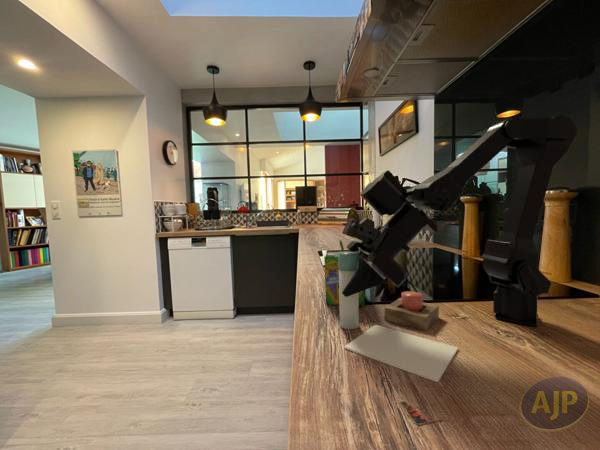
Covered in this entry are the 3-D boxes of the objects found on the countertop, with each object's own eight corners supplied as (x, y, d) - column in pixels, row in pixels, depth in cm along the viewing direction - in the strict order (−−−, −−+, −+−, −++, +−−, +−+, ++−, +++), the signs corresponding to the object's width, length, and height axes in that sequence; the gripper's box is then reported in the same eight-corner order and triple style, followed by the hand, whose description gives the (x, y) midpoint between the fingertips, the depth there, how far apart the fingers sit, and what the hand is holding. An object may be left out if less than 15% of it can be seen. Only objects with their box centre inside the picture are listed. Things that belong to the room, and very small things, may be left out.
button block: (438, 317, 57) (438, 305, 57) (426, 330, 51) (426, 317, 51) (400, 308, 62) (400, 297, 62) (384, 319, 56) (384, 307, 56)
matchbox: (455, 417, 30) (455, 413, 30) (420, 435, 28) (420, 430, 28) (420, 392, 35) (420, 389, 35) (388, 405, 32) (388, 402, 32)
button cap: (425, 310, 57) (425, 293, 57) (418, 316, 54) (418, 298, 54) (405, 306, 60) (405, 290, 59) (398, 311, 57) (398, 294, 56)
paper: (458, 349, 44) (458, 347, 44) (437, 382, 36) (437, 380, 36) (375, 326, 53) (375, 324, 53) (344, 348, 45) (344, 346, 45)
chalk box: (364, 307, 64) (364, 242, 63) (324, 305, 66) (323, 242, 65) (363, 294, 73) (363, 238, 72) (328, 293, 75) (327, 238, 74)
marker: (362, 324, 54) (362, 252, 53) (352, 331, 51) (351, 255, 50) (345, 319, 56) (345, 251, 56) (335, 326, 54) (334, 253, 53)
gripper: (355, 204, 62) (306, 255, 62) (386, 201, 43) (317, 274, 43) (390, 238, 63) (342, 289, 63) (435, 250, 44) (367, 322, 44)
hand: (341, 291), depth 53 cm, fingers closed on marker, 4 cm apart
